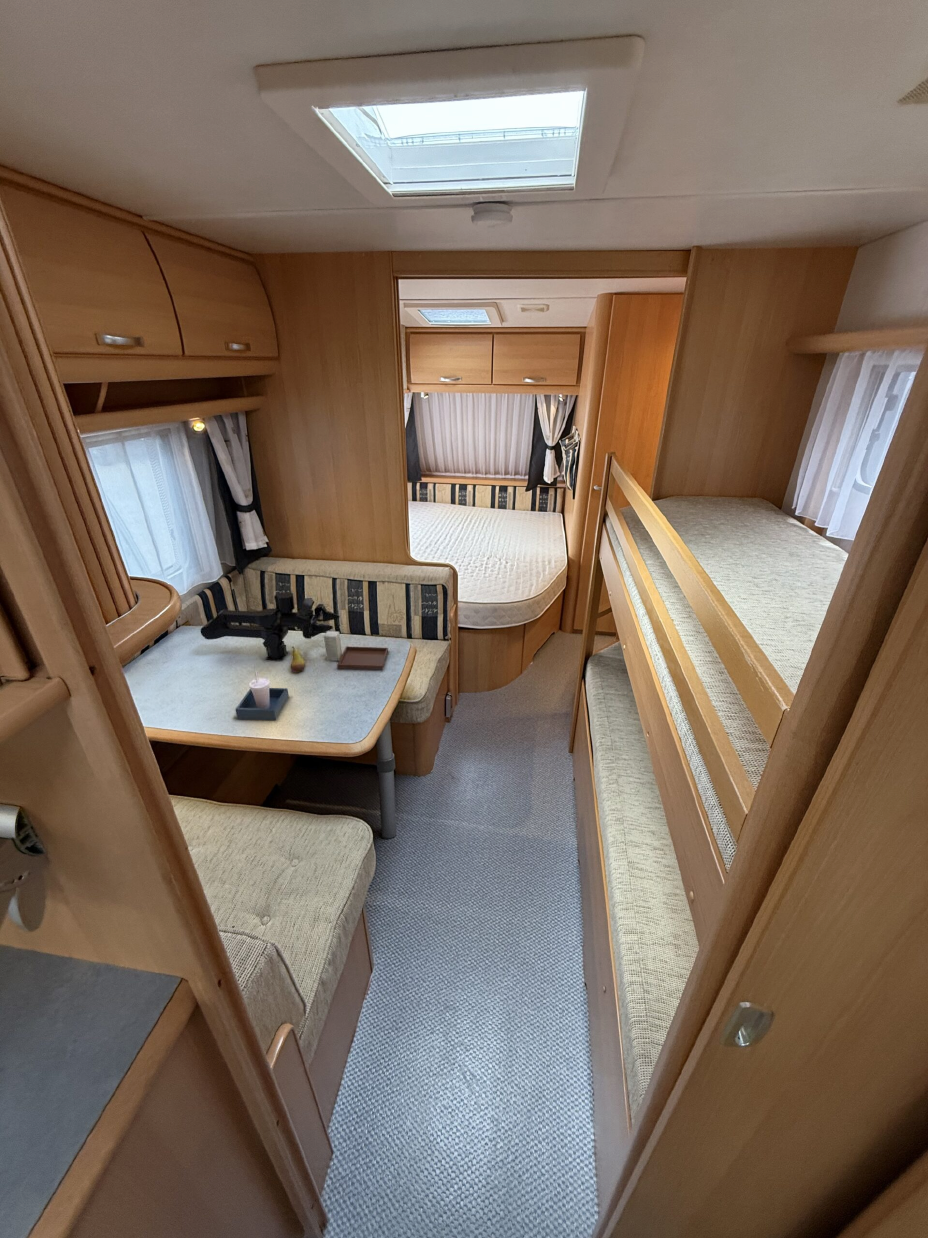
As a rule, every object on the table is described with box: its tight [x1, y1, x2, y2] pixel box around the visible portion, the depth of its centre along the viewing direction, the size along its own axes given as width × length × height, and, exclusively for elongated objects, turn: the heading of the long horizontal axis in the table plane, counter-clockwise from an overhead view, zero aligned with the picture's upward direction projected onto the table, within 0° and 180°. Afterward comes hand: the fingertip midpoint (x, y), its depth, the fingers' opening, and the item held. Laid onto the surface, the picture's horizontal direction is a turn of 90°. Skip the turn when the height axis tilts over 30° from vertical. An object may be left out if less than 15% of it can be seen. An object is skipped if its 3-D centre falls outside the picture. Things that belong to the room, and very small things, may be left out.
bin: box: [234, 687, 290, 721], centre depth 165 cm, size 13×13×4 cm
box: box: [323, 630, 343, 662], centre depth 194 cm, size 5×4×11 cm
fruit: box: [290, 646, 306, 673], centre depth 185 cm, size 6×6×12 cm
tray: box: [337, 646, 389, 671], centre depth 195 cm, size 17×14×2 cm
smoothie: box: [248, 670, 271, 709], centre depth 162 cm, size 6×6×14 cm
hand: (336, 621), depth 188 cm, fingers open, 9 cm apart
